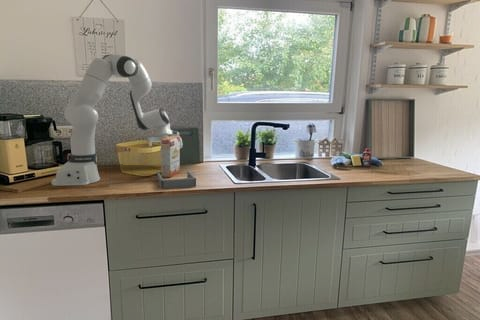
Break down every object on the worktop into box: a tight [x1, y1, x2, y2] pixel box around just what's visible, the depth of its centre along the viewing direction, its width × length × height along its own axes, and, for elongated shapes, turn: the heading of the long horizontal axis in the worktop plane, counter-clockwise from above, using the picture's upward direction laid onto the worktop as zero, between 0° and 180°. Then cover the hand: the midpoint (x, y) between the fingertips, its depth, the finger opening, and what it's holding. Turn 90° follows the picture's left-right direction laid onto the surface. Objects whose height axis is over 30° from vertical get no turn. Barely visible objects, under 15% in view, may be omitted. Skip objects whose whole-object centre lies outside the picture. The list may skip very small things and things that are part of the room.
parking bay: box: [156, 170, 197, 190], centre depth 176 cm, size 17×17×4 cm
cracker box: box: [160, 136, 181, 178], centre depth 191 cm, size 14×6×21 cm, turn 168°
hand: (167, 154), depth 204 cm, fingers closed
